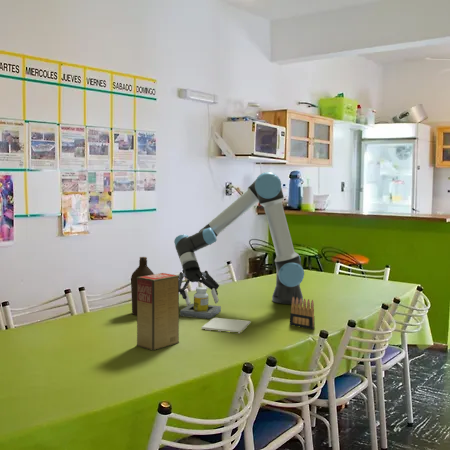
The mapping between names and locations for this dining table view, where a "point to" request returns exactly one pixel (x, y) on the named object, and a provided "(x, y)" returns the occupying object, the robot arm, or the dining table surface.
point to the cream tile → (226, 325)
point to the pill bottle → (201, 299)
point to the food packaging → (157, 310)
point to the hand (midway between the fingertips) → (203, 303)
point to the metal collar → (200, 312)
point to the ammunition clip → (302, 314)
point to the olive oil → (139, 272)
